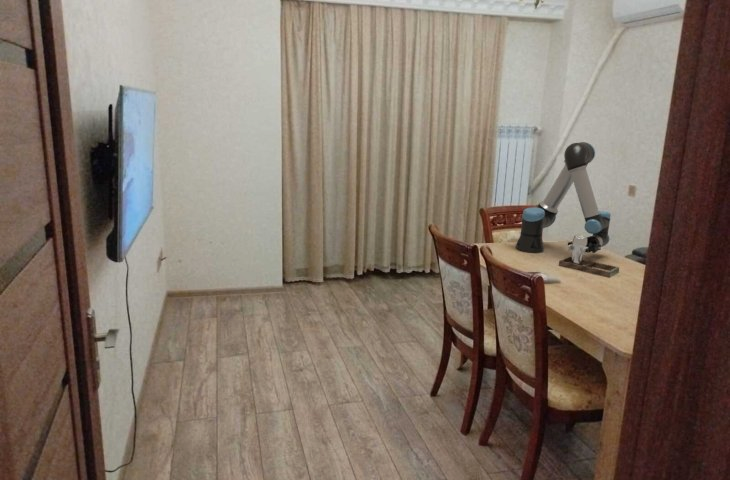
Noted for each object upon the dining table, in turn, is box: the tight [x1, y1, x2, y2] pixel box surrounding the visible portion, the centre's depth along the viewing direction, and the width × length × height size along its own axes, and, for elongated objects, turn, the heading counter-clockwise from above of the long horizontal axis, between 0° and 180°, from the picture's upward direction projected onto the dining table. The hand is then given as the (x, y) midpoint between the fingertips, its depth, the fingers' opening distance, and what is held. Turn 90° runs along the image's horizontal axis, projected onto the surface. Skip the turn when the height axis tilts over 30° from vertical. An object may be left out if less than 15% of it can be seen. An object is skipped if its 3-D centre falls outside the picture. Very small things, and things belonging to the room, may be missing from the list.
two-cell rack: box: [558, 256, 620, 278], centre depth 258 cm, size 25×13×2 cm, turn 46°
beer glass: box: [570, 235, 587, 266], centre depth 260 cm, size 7×7×15 cm
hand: (574, 250), depth 257 cm, fingers closed on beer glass, 7 cm apart
